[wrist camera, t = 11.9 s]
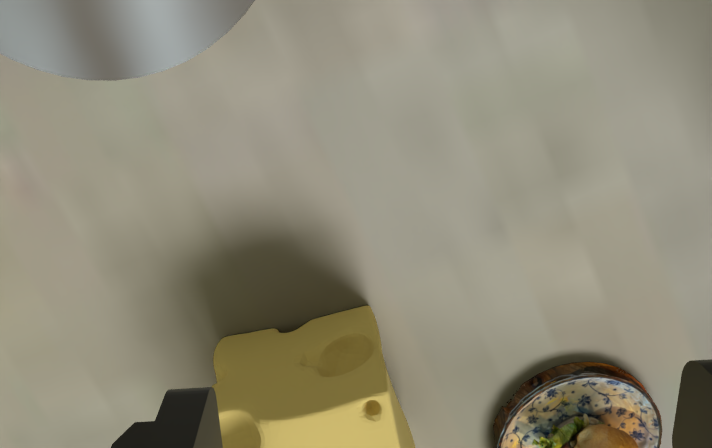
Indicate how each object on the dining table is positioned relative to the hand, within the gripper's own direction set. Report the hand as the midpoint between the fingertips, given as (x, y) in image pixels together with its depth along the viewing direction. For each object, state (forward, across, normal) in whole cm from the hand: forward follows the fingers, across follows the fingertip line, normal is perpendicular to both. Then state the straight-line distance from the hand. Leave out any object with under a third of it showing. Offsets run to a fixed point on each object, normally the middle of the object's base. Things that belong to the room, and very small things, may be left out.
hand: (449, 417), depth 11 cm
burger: (+30, -14, +24) cm, 41 cm away
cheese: (+29, +4, +18) cm, 35 cm away
